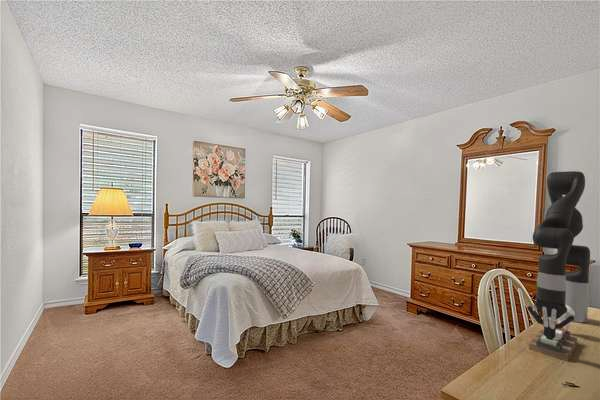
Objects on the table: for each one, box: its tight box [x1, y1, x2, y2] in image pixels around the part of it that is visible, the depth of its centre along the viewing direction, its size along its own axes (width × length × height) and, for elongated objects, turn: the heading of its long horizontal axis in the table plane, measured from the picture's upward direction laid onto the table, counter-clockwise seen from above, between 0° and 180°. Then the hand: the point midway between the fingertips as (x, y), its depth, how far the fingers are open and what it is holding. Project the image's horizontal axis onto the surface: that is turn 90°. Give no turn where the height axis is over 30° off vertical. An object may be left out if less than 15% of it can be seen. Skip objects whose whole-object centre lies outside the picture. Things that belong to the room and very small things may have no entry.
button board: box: [528, 328, 578, 362], centre depth 107 cm, size 22×10×4 cm, turn 131°
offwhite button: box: [555, 330, 563, 340], centre depth 107 cm, size 4×4×2 cm
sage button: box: [541, 335, 558, 347], centre depth 102 cm, size 4×4×2 cm
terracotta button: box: [556, 323, 567, 334], centre depth 113 cm, size 4×4×2 cm
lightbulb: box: [557, 305, 575, 331], centre depth 121 cm, size 6×6×11 cm
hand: (549, 338), depth 102 cm, fingers closed
